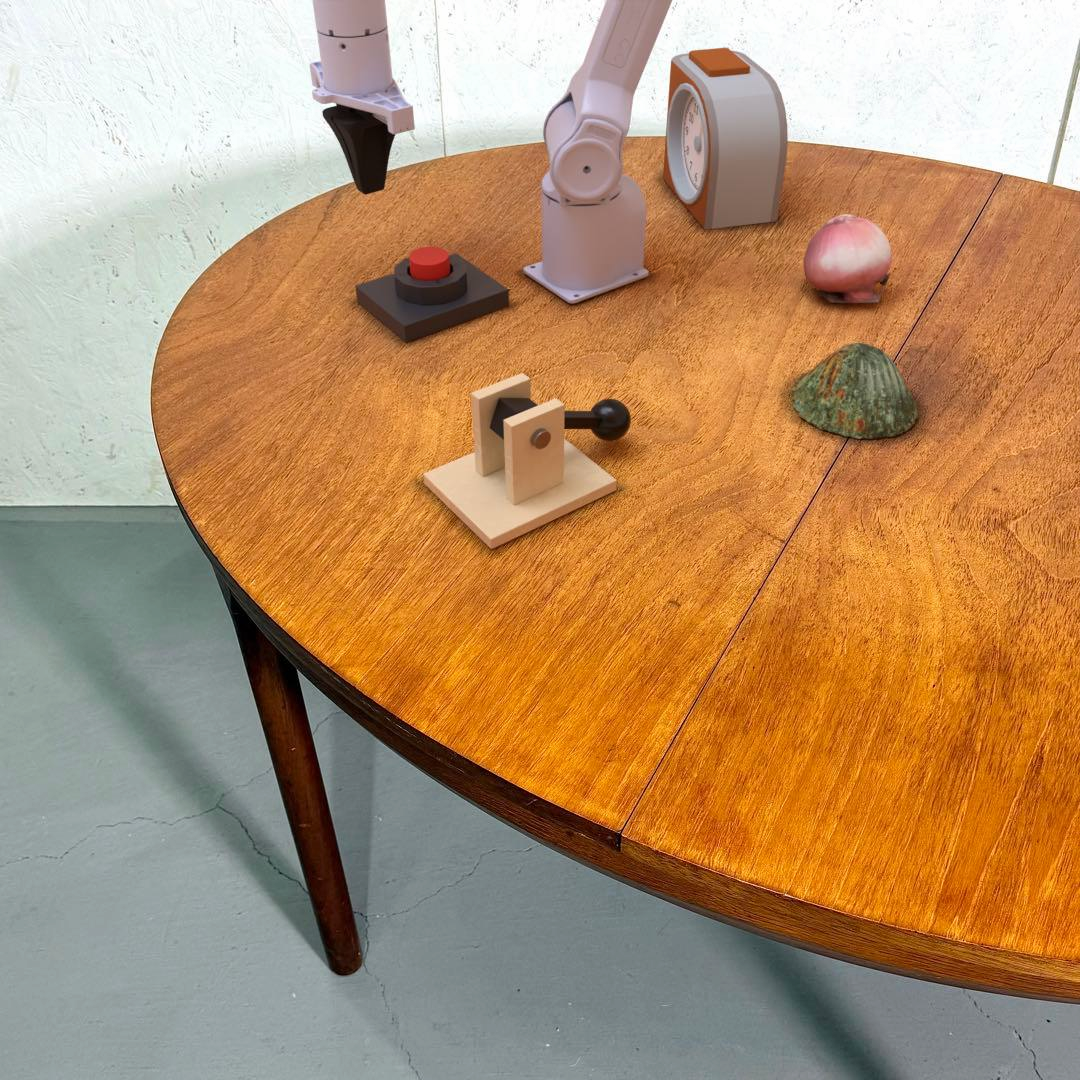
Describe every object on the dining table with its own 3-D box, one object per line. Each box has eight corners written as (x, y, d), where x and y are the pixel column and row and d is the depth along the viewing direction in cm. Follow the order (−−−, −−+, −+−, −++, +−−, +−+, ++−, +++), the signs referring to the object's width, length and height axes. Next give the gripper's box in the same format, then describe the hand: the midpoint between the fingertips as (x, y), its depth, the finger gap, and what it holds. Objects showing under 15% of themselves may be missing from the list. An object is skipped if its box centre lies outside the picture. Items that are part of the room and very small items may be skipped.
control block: (457, 269, 103) (455, 235, 101) (509, 306, 98) (508, 271, 96) (357, 302, 99) (352, 267, 96) (406, 343, 93) (402, 307, 91)
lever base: (544, 432, 83) (544, 345, 78) (616, 490, 78) (621, 401, 72) (423, 484, 78) (414, 395, 73) (491, 550, 73) (486, 459, 68)
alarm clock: (655, 173, 120) (663, 47, 111) (726, 166, 122) (739, 40, 113) (701, 230, 109) (714, 95, 100) (778, 221, 111) (798, 87, 102)
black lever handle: (604, 428, 83) (618, 391, 81) (630, 448, 81) (645, 410, 79) (483, 429, 75) (495, 388, 73) (508, 451, 73) (522, 410, 71)
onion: (851, 266, 103) (865, 195, 98) (903, 302, 98) (921, 228, 93) (782, 284, 101) (794, 212, 96) (833, 321, 95) (848, 247, 91)
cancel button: (437, 260, 98) (435, 242, 97) (457, 275, 96) (456, 257, 95) (403, 271, 97) (401, 253, 95) (423, 286, 94) (422, 268, 93)
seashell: (793, 380, 81) (812, 317, 88) (781, 423, 83) (800, 359, 90) (927, 412, 79) (935, 346, 86) (910, 456, 81) (919, 388, 89)
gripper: (268, 14, 89) (294, 174, 98) (350, 60, 80) (370, 230, 89) (343, 0, 92) (362, 156, 101) (431, 42, 83) (442, 208, 92)
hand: (371, 189), depth 95 cm, fingers closed
